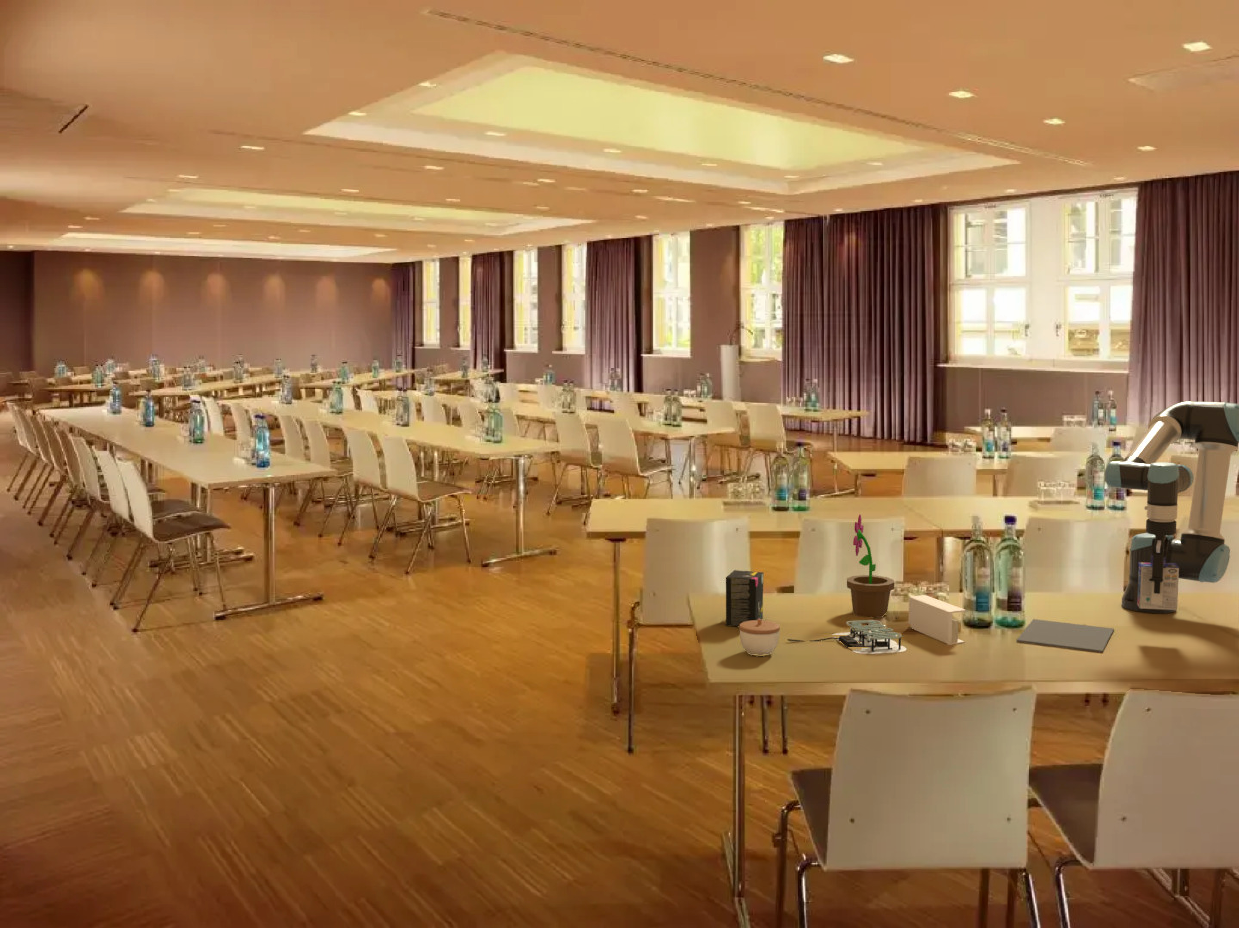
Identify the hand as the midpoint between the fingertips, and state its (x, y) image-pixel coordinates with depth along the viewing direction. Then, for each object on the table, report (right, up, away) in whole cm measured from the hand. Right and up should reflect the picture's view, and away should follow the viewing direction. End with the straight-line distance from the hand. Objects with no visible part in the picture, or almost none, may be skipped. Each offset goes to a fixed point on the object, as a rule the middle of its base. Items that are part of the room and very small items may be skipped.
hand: (1157, 601), depth 317 cm
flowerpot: (-73, -8, +31) cm, 80 cm away
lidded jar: (-112, -13, -10) cm, 113 cm away
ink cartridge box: (0, -2, 0) cm, 2 cm away
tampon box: (-112, -9, +21) cm, 114 cm away
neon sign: (-87, -12, -2) cm, 88 cm away
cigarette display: (-60, -11, +7) cm, 61 cm away
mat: (-24, -10, +4) cm, 26 cm away
